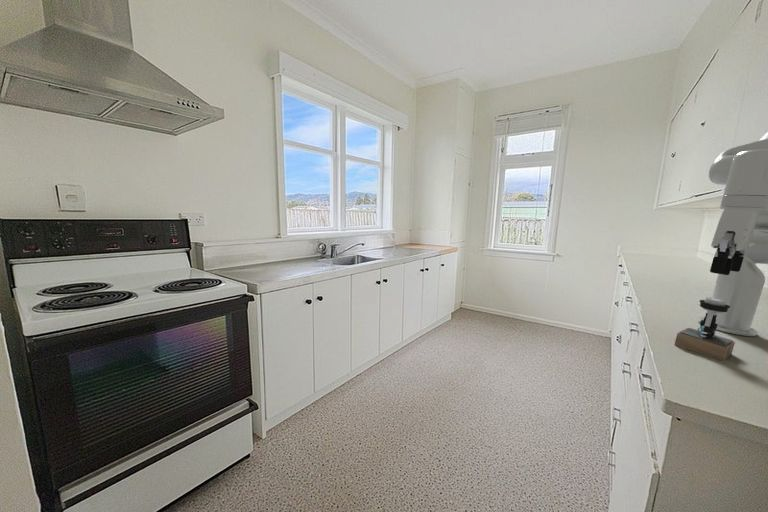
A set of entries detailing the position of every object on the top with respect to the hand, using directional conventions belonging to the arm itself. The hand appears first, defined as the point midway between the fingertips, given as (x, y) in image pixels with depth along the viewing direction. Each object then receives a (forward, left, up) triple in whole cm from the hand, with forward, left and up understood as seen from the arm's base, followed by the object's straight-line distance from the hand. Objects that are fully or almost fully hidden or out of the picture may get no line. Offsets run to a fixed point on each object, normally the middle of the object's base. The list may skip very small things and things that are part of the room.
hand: (724, 272), depth 75 cm
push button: (+1, 0, -18) cm, 18 cm away
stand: (0, 0, -21) cm, 21 cm away
